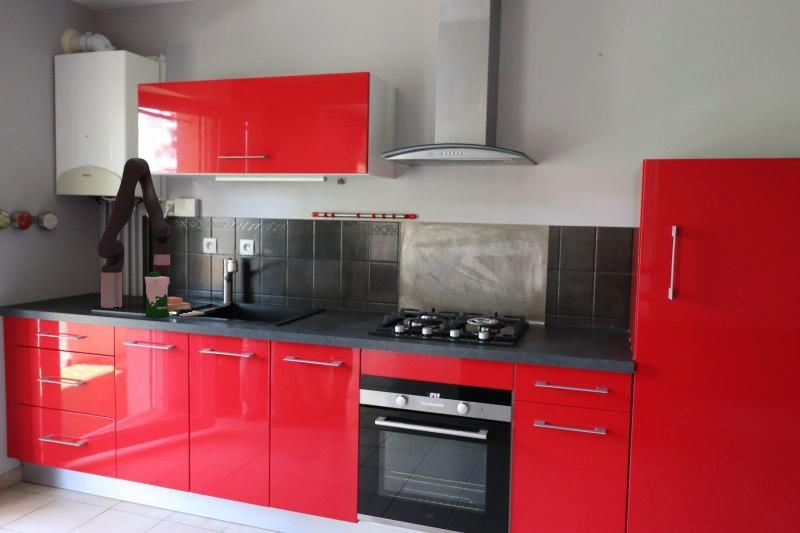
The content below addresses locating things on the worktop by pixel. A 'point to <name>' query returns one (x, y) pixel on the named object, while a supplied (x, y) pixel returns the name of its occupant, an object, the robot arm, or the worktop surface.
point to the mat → (192, 313)
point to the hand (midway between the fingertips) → (161, 299)
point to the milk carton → (156, 295)
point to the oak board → (178, 306)
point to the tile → (175, 300)
